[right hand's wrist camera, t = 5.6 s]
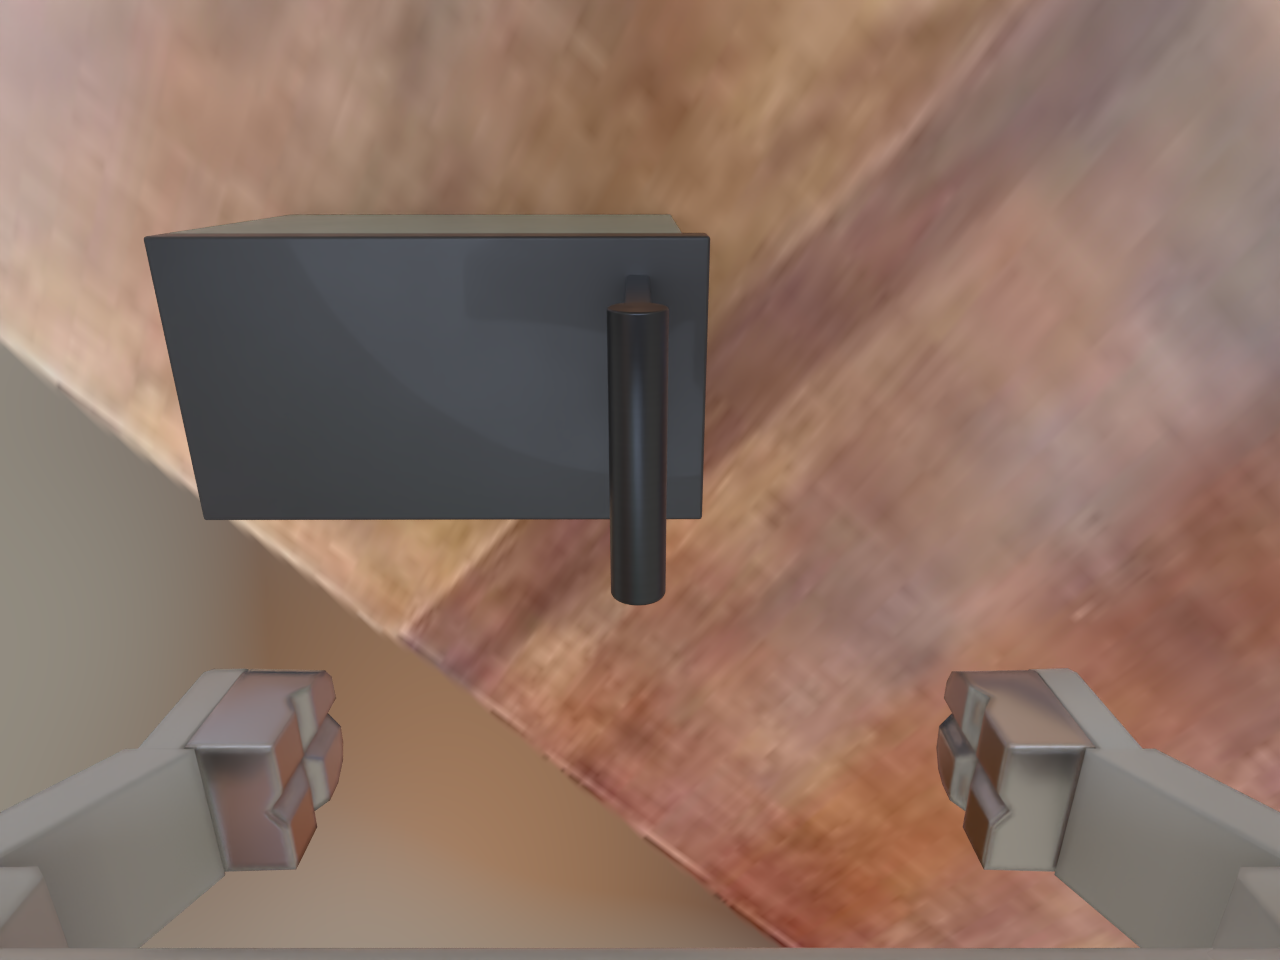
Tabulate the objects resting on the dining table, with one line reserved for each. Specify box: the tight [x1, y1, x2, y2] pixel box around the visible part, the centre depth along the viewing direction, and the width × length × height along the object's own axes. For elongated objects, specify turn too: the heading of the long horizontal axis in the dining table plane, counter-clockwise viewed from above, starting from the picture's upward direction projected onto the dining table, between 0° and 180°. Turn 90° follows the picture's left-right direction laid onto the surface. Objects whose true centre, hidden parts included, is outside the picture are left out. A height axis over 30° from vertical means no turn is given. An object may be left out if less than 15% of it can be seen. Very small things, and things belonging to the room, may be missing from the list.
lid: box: [144, 233, 710, 605], centre depth 23 cm, size 17×9×9 cm, turn 90°
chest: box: [172, 215, 681, 233], centre depth 32 cm, size 16×9×10 cm, turn 90°
